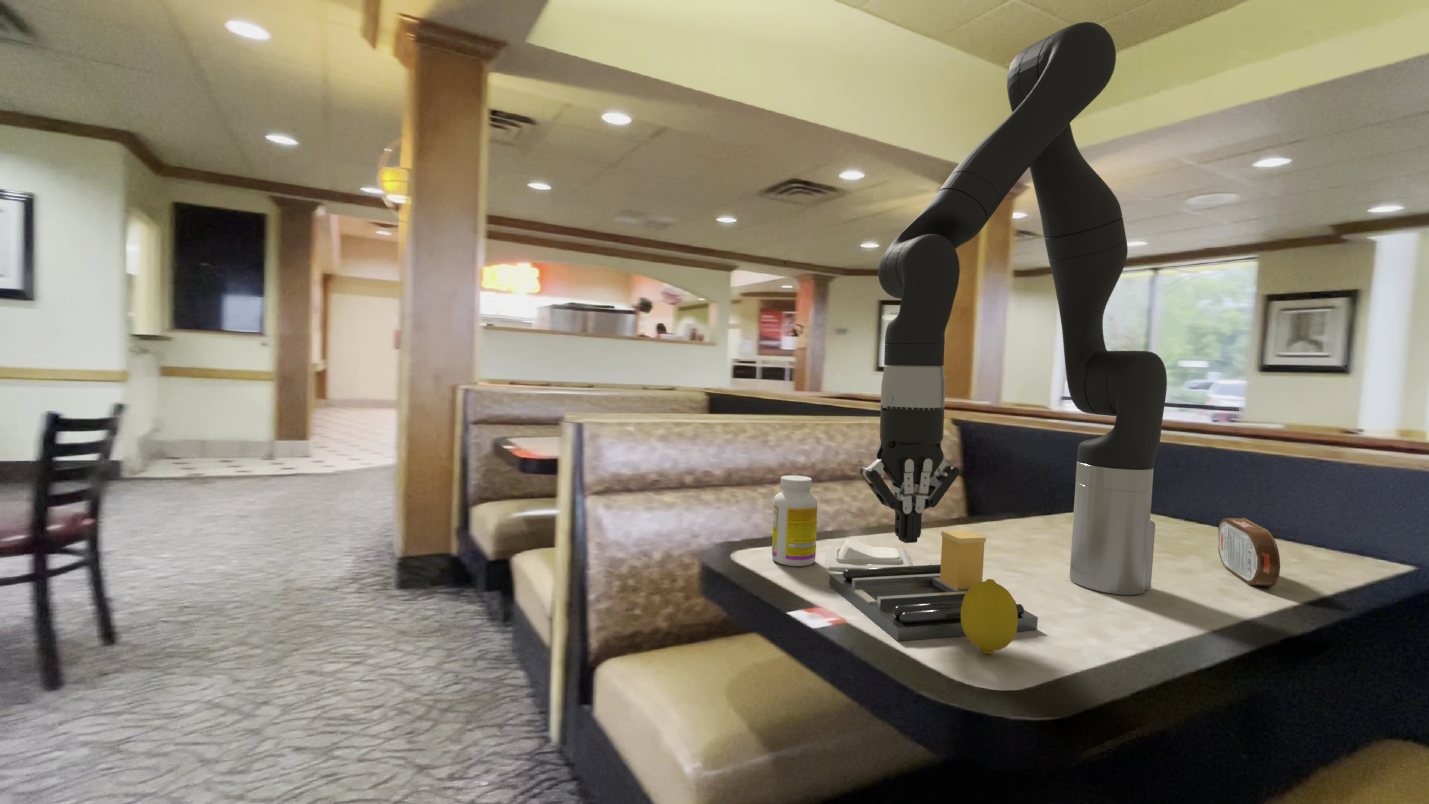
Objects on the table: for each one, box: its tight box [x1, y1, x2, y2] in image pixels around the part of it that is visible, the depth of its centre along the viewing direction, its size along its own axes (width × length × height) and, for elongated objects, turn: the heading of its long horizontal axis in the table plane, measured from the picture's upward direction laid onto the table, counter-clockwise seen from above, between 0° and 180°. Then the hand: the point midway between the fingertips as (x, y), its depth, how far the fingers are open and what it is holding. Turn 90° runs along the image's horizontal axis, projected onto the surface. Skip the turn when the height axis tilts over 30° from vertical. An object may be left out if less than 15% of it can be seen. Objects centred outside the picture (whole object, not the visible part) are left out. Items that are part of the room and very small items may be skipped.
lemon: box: [961, 578, 1018, 655], centre depth 67 cm, size 6×6×8 cm
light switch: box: [825, 538, 913, 573], centre depth 98 cm, size 11×4×13 cm
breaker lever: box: [932, 529, 987, 592], centre depth 81 cm, size 5×5×7 cm
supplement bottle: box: [771, 474, 818, 567], centre depth 97 cm, size 7×7×13 cm
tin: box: [1217, 517, 1281, 588], centre depth 96 cm, size 15×3×8 cm, turn 160°
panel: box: [828, 563, 1039, 642], centre depth 80 cm, size 18×18×3 cm
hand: (907, 541), depth 80 cm, fingers closed
